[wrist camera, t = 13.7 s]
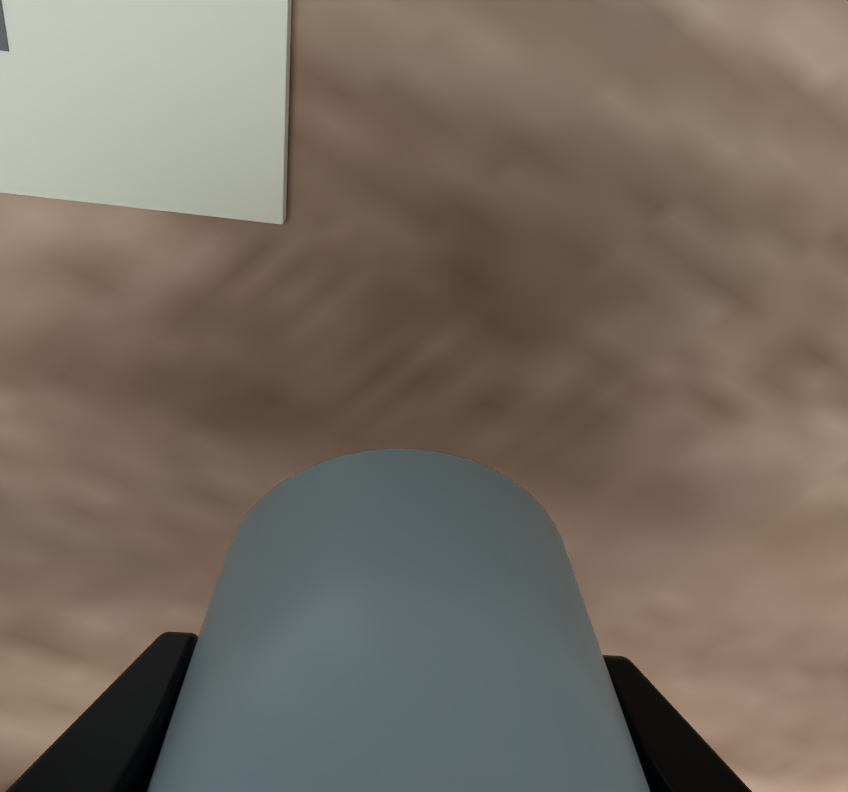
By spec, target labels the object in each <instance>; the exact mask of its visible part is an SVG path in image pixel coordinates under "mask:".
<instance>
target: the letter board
mask: <svg viewBox="0 0 848 792" xmlns="http://www.w3.org/2000/svg"><path fill="white" fill-rule="evenodd" d="M291 6H292V0H0V192H1V193H9V194H18V195H27V196H36V197H45V198H53V199H62V200H71V201H80V202H89V203H98V204H106V205H115V206H124V207H133V208H142V209H151V210H159V211H168V212H177V213H186V214H195V215H203V216H212V217H221V218H230V219H239V220H248V221H256V222H265V223H274V224H283V223H284V221H285V220H286V197H287V159H288V121H289V82H290V44H291Z"/></svg>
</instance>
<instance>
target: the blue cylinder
mask: <svg viewBox="0 0 848 792" xmlns="http://www.w3.org/2000/svg"><path fill="white" fill-rule="evenodd" d="M147 792H650V789H649V786H648V783H647V781H646V778H645V775H644V772H643V769H642V766H641V764H640V761H639V758H638V755H637V752H636V749H635V746H634V744H633V741H632V738H631V735H630V732H629V729H628V727H627V724H626V721H625V718H624V715H623V712H622V709H621V707H620V704H619V701H618V698H617V695H616V692H615V690H614V687H613V684H612V681H611V678H610V675H609V672H608V670H607V667H606V664H605V661H604V658H603V655H602V652H601V650H600V647H599V644H598V641H597V638H596V635H595V633H594V630H593V627H592V624H591V621H590V618H589V615H588V613H587V610H586V607H585V604H584V601H583V598H582V596H581V593H580V590H579V587H578V584H577V581H576V578H575V576H574V573H573V570H572V567H571V564H570V561H569V559H568V556H567V553H566V550H565V547H564V544H563V541H562V539H561V536H560V534H559V532H558V530H557V528H556V527H555V525H554V523H553V521H552V519H551V518H550V517H549V515H548V514H547V513H546V511H545V510H544V509H543V507H542V506H541V505H540V504H539V503H538V502H537V501H536V500H535V499H534V498H533V497H532V496H531V495H530V494H529V493H528V492H527V491H526V490H524V489H523V488H522V487H520V486H519V485H517V484H516V483H515V482H513V481H512V480H511V479H509V478H508V477H506V476H504V475H502V474H500V473H498V472H497V471H495V470H493V469H491V468H489V467H487V466H484V465H482V464H479V463H476V462H474V461H471V460H469V459H466V458H462V457H458V456H454V455H450V454H446V453H442V452H435V451H428V450H420V449H381V450H369V451H363V452H358V453H353V454H348V455H343V456H340V457H337V458H334V459H330V460H327V461H324V462H321V463H318V464H316V465H314V466H312V467H309V468H307V469H305V470H303V471H301V472H299V473H297V474H295V475H293V476H292V477H290V478H289V479H287V480H285V481H284V482H282V483H280V484H279V485H277V486H276V487H275V488H274V489H272V490H271V491H270V492H269V493H268V494H266V495H265V496H264V497H263V498H262V499H260V500H259V502H258V503H257V504H256V505H255V506H254V507H253V508H252V509H251V510H250V511H249V513H248V514H247V515H246V516H245V518H244V519H243V521H242V522H241V524H240V525H239V527H238V528H237V530H236V532H235V534H234V536H233V538H232V541H231V543H230V545H229V547H228V550H227V553H226V556H225V559H224V562H223V565H222V568H221V571H220V574H219V577H218V580H217V583H216V586H215V589H214V592H213V595H212V598H211V601H210V604H209V607H208V610H207V613H206V616H205V619H204V622H203V625H202V628H201V631H200V634H199V637H198V640H197V643H196V646H195V649H194V652H193V655H192V658H191V661H190V664H189V667H188V670H187V673H186V676H185V679H184V682H183V685H182V688H181V691H180V694H179V697H178V700H177V703H176V706H175V709H174V712H173V715H172V718H171V721H170V724H169V727H168V730H167V733H166V736H165V739H164V742H163V745H162V748H161V751H160V754H159V757H158V760H157V763H156V766H155V769H154V772H153V775H152V778H151V781H150V784H149V787H148V790H147Z"/></svg>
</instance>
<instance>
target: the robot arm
mask: <svg viewBox="0 0 848 792" xmlns="http://www.w3.org/2000/svg"><path fill="white" fill-rule="evenodd" d="M197 640H198V637H197V635H196V634H193V633H182V632H165V633H163V634H161V635H160V636H159V637H158V638H157V639H156V640H155V641H154V642H153V643H152V644H151V645H150V646H149V647H148V648H147V649H146V650H145V651H144V652H143V653H142V654H141V655H140V656H139V657H138V658H137V659H136V660H135V661H134V662H133V663H132V664H131V665H130V666H129V667H128V668H127V669H126V670H125V671H124V672H123V673H122V674H121V675H120V676H119V677H118V678H117V679H116V680H115V681H114V682H113V683H112V684H111V685H110V686H109V687H108V688H107V689H106V690H105V691H104V692H103V693H102V694H101V695H100V696H99V698H98V699H97V700H96V701H95V702H94V703H93V704H92V705H91V706H90V707H89V708H88V709H87V710H86V711H85V712H84V713H83V714H82V715H81V716H80V717H79V718H78V719H77V720H76V721H75V722H74V723H73V724H72V725H71V726H70V727H69V728H68V729H67V730H66V731H65V732H64V733H63V734H62V735H61V736H60V737H59V738H58V739H57V740H56V741H55V742H54V743H53V744H52V745H51V746H50V747H49V748H48V749H47V750H46V751H45V752H44V753H43V754H42V755H41V756H40V757H39V758H38V759H37V760H36V761H35V762H34V763H33V764H32V765H31V766H30V767H29V768H28V769H27V770H26V771H25V773H24V774H23V775H22V776H21V777H20V778H19V779H18V780H17V781H16V782H15V783H14V784H13V785H12V786H11V787H10V788H9V789H8V790H7V791H6V792H147V790H148V787H149V784H150V781H151V778H152V775H153V772H154V769H155V766H156V763H157V760H158V757H159V754H160V751H161V748H162V745H163V742H164V739H165V736H166V733H167V730H168V727H169V724H170V721H171V718H172V715H173V712H174V709H175V706H176V703H177V700H178V697H179V694H180V691H181V688H182V685H183V682H184V679H185V676H186V673H187V670H188V667H189V664H190V661H191V658H192V655H193V652H194V649H195V646H196V643H197ZM603 658H604V661H605V664H606V667H607V670H608V672H609V675H610V678H611V681H612V684H613V687H614V690H615V692H616V695H617V698H618V701H619V704H620V707H621V709H622V712H623V715H624V718H625V721H626V724H627V727H628V729H629V732H630V735H631V738H632V741H633V744H634V746H635V749H636V752H637V755H638V758H639V761H640V764H641V766H642V769H643V772H644V775H645V778H646V781H647V783H648V786H649V789H650V792H752V791H751V790H750V789H749V788H748V787H747V786H746V785H745V784H744V783H743V782H742V780H741V779H740V778H739V777H738V776H737V775H736V774H735V773H734V772H733V771H732V770H731V769H730V768H729V766H728V765H727V764H726V763H725V762H724V761H723V760H722V759H721V758H720V757H719V756H718V755H717V753H716V752H715V751H714V750H713V749H712V748H711V747H710V746H709V745H708V744H707V743H706V742H705V741H704V739H703V738H702V737H701V736H700V735H699V734H698V733H697V732H696V731H695V730H694V729H693V728H692V727H691V725H690V724H689V723H688V722H687V721H686V720H685V719H684V718H683V717H682V716H681V715H680V714H679V712H678V711H677V710H676V709H675V708H674V707H673V706H672V705H671V704H670V703H669V702H668V701H667V700H666V698H665V697H664V696H663V695H662V694H661V693H660V692H659V691H658V690H657V689H656V688H655V687H654V685H653V684H652V683H651V682H650V681H649V680H648V679H647V678H646V677H645V676H644V675H643V674H642V673H641V671H640V670H639V669H638V668H637V667H636V666H635V665H634V664H633V663H632V662H631V661H630V660H629V659H627V658H625V657H622V656H609V655H603Z"/></svg>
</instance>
